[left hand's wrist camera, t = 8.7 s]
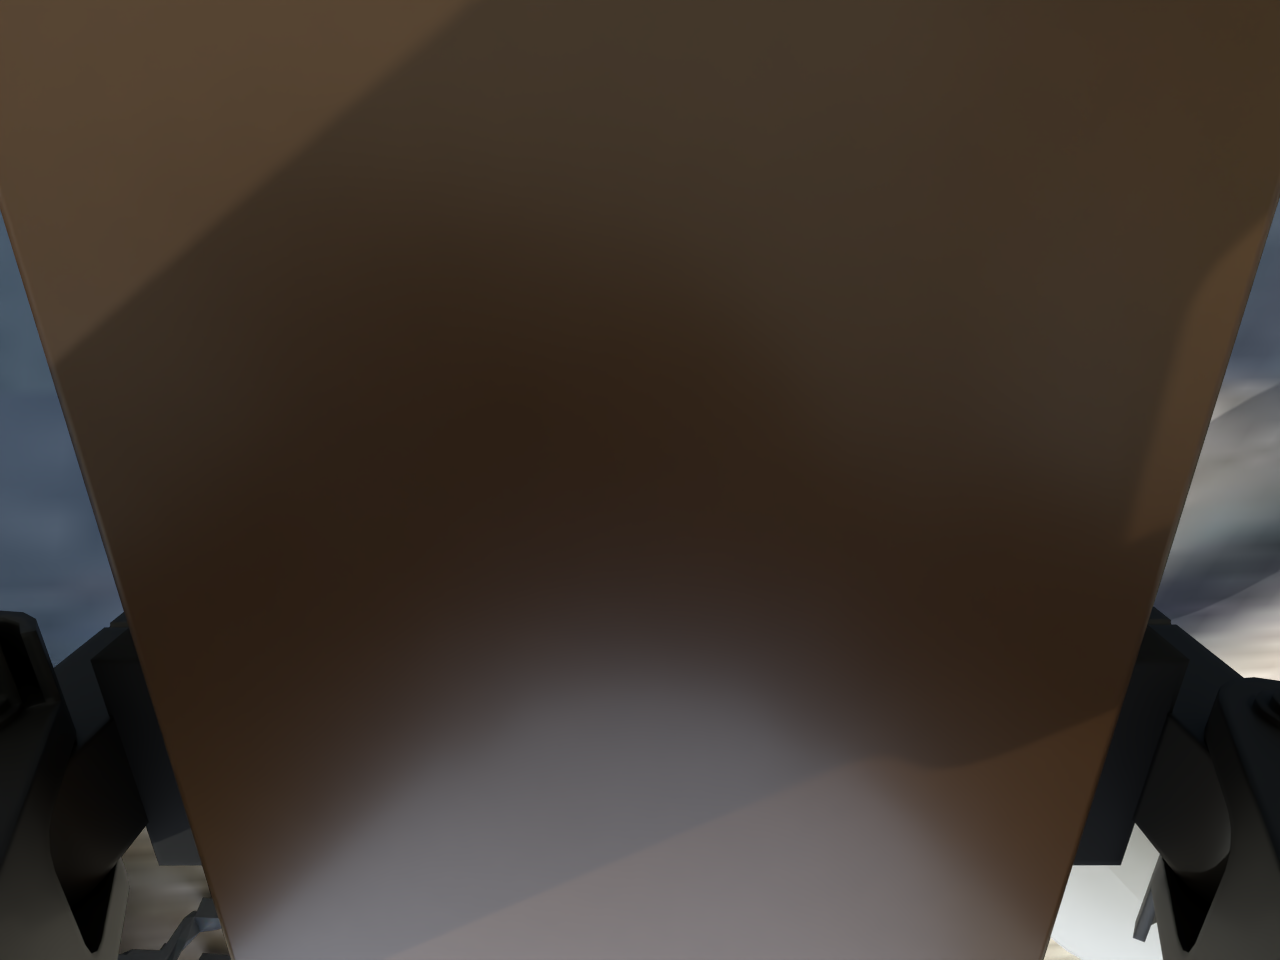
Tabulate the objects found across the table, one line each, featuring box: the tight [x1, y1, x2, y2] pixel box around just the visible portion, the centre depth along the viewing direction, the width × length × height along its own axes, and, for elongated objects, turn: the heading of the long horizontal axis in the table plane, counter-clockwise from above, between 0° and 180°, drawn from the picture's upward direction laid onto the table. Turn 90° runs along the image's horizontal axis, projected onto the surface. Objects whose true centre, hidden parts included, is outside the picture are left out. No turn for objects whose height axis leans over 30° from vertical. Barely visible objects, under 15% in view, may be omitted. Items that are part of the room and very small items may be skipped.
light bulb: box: [1050, 823, 1163, 960], centre depth 21 cm, size 7×7×11 cm
